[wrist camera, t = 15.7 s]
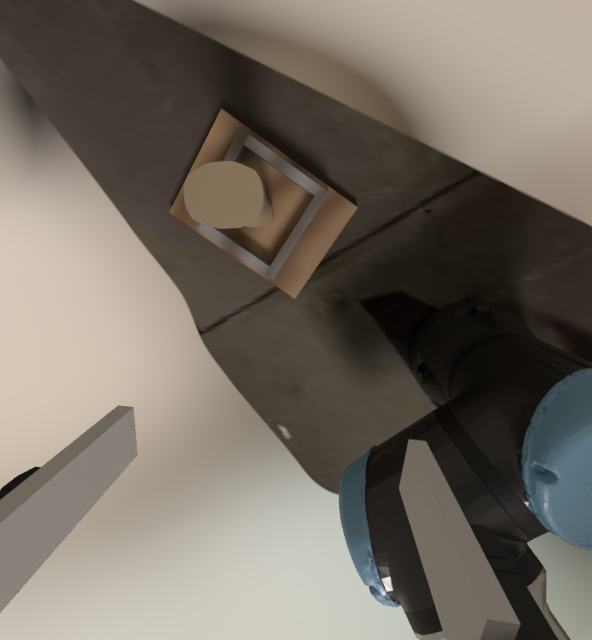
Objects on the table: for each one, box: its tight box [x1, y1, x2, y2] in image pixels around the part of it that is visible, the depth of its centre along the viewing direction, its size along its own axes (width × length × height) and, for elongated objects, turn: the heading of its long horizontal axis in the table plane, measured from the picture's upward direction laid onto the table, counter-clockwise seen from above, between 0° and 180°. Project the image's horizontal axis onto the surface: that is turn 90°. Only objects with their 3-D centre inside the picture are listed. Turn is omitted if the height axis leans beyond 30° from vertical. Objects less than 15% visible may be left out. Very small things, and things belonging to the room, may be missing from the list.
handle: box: [184, 161, 273, 229], centre depth 30 cm, size 5×6×15 cm
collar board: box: [169, 109, 358, 298], centre depth 37 cm, size 20×14×3 cm
